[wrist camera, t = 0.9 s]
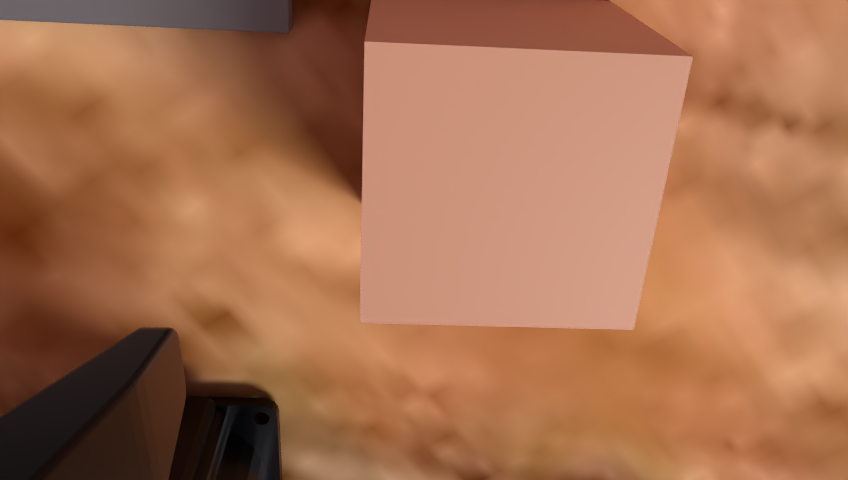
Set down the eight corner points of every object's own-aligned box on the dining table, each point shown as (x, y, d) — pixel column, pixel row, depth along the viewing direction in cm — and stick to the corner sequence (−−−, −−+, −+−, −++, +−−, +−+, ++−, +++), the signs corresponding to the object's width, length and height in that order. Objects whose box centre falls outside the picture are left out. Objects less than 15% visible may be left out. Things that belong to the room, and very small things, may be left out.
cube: (574, 213, 22) (633, 330, 16) (368, 206, 21) (359, 323, 16) (608, 0, 19) (693, 56, 14) (373, -12, 19) (364, 41, 13)
